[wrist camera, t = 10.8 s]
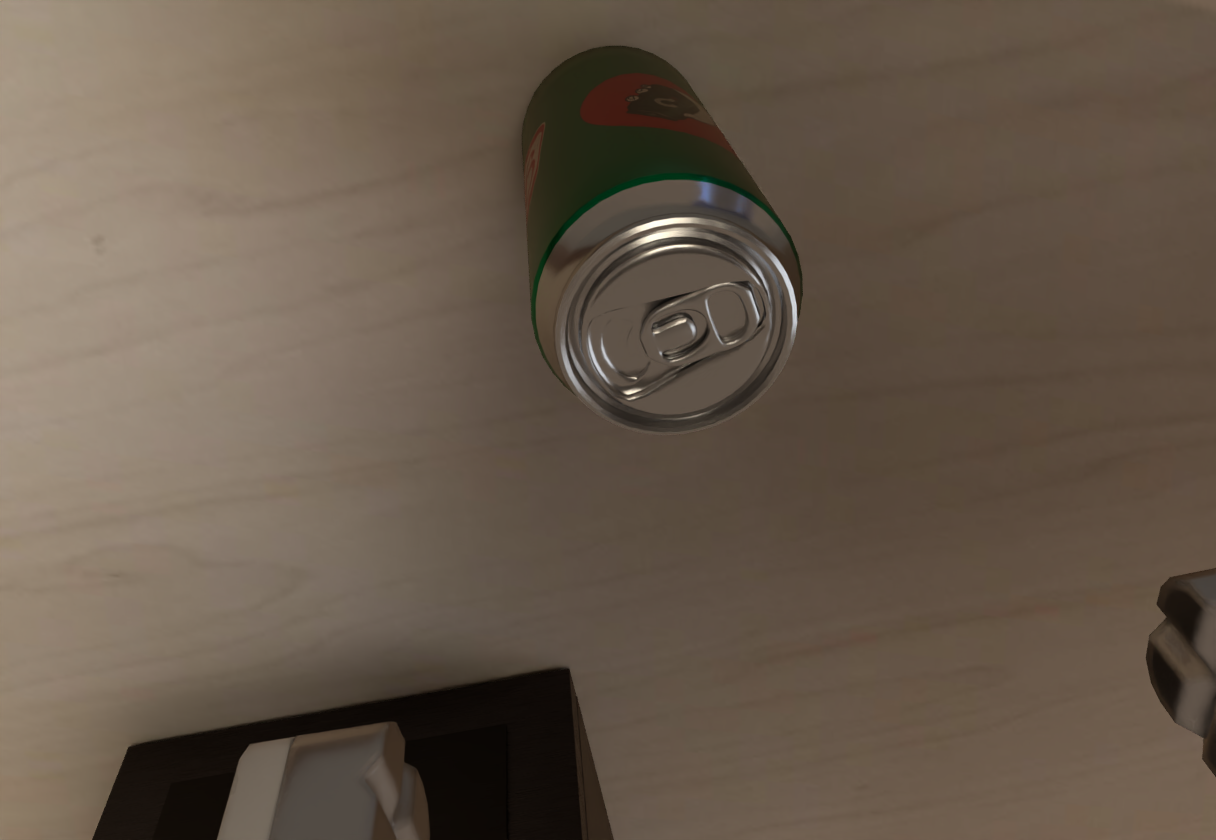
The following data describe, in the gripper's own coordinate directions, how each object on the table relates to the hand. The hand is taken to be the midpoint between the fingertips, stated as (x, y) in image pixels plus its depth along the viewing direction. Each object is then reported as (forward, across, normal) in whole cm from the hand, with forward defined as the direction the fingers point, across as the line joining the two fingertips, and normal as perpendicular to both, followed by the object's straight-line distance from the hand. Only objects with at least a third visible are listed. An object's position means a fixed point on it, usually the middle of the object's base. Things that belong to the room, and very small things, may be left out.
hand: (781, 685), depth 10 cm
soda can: (+20, 0, 0) cm, 20 cm away
